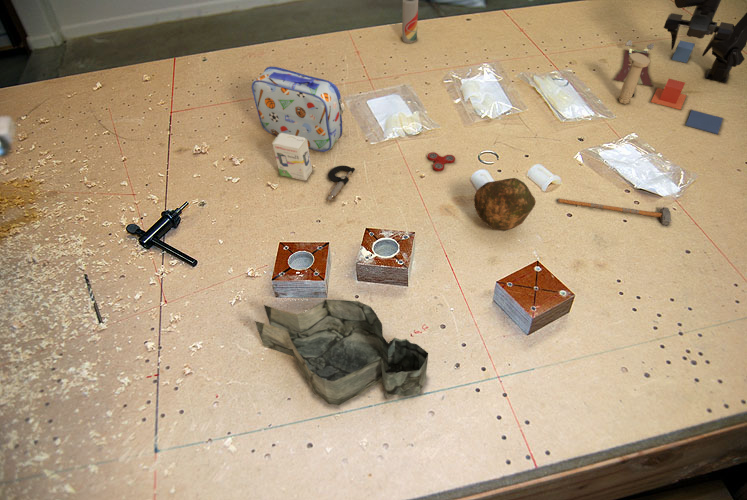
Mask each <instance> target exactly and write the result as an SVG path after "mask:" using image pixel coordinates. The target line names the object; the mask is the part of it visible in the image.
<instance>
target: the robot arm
mask: <svg viewBox="0 0 747 500" xmlns="http://www.w3.org/2000/svg"><path fill="white" fill-rule="evenodd" d="M721 2H722V0H674V5H675V7H676V8H677V9H684V8H691V7H695V8H694V11H693V13H692V15H691V18H690V20H689V19H688V20H687V19H683V16H684V14H679V13H674V12H673V13H672V12H671V13H669V14H668V16H667V18H666V20H665V23H664V25H663V29H666V31H667V32H668V33H670V37H671V44H670V46H671V51H673V50H674V47H675V45H676V42H677V40H678V39H677V38H678V35H679V31H680V28H681V27H683V28H688V29H687V32H686V36H687V37H690V38H697V39H699V40H701V39H703V38H705V36H711V38H710V40H709V41H708V43H707V46H705V48H704V50H703V53H702V57H704V56H706V54H708V52H709V51H710V50H711V55H712V56H713V57H714V58H715V59H714V61H713V63H712V65H711V67H710V68H708V70H707V72H706V75H705V79H707V80H711V81H715V82H719V83H723V84H726V83H727V82H728V79H729V77H730V73H731V70H732V69H733V68H736V67H737V66H740V65H741V64H742V63H743V62H744V61H745V56H744V55H743V53H742V52H743V50H744V48H745V47H746V45H747V12H745V13H744V15H743V16H742V17H741V18H740V20H738V22H737V23H736V24H734V23H731V22H730V23H729V22H722V21H721V22H720V23H719V25H718V21H714V20H713V19H714V17H715V16H716V14H717V13H716V12H717V11H718V8H719V6H720V5H721Z"/></svg>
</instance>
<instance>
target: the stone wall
mask: <svg viewBox="0 0 747 500" xmlns="http://www.w3.org/2000/svg"><path fill="white" fill-rule="evenodd" d="M263 307H264V311H265V314H266V317H267V320H268V323H269V324H267V323H263V322H260V321H257V320H254V324H255V326H256V329H257V332H258V335H259V338H260V341H261V343H262V346H263V347H264V348H267V349H271V350H273V351H276V352H279V353H283V354H284V355H287V356H291V357H294V360H295V361H296V364H297V366H298V368H299V370H300V371H301V372H302V374H303V376H304V378H305V380H306V381H307V382H308V383H309V385H310V386H311V388H312V391H313V393H314V395H315V396H317V397H318V398H319V399H321V400H322V401H324V402H325V403H327V404H328V405H332V406H333V405H334V406H340V405H342V404H345V403H346V402H348V401H350V400H352V399H354V398H357V397H359V396H361V395H362V394H364V393H366V392H367V391H368V390H370V389H371V388H373V387H376V386H377V385H379V384H380V383H381V384H382V387H383V389H384V395H385V397H386V398H390V397H392V396H401V397H410V396H415V395H419V394H420V392H421V390H422V388H423V387H424V384H425V382H426V379H427V372H428V363H429V352H428V351H426V350H425V349H424V348H423V347H422V346H420V345H419V344H417V343H414V342H410V341H409V339H407V338H402V339H400V338H398V337H393V338H392V339H391V340H390V341H389V342H388V341H387V340H386V338H385V337H384V333H383V323H382V322H381V320H380V318H379V316H378V315H377V313H376V312H375V310H374V309H373V308H372V306H370V305H368V304H366V303H362V302H360V301H358V300H348V299H346V300H345V299H329V298H328V299H327V298H326V299H323V300H321V301H320V302H319V303H317V304H315V305H313V306H312V307H310V308H308V309H307V310H305V311H304V312H300V313H294V312H289V311H286V310H283V309H281V308H276V307H273V306H269V305H265V304H263Z"/></svg>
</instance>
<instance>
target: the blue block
mask: <svg viewBox="0 0 747 500" xmlns="http://www.w3.org/2000/svg"><path fill="white" fill-rule="evenodd" d="M695 45H696V43H694V42H691V41H685V40H679V41H678V43H677V46H676V48H675V50H674V53H673V55H672V58H671V60H672V61H675V62H679V63H685V64H687V63H688V61H689V59H690V57H691V54H692V52H693V50H694V48H695Z"/></svg>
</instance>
